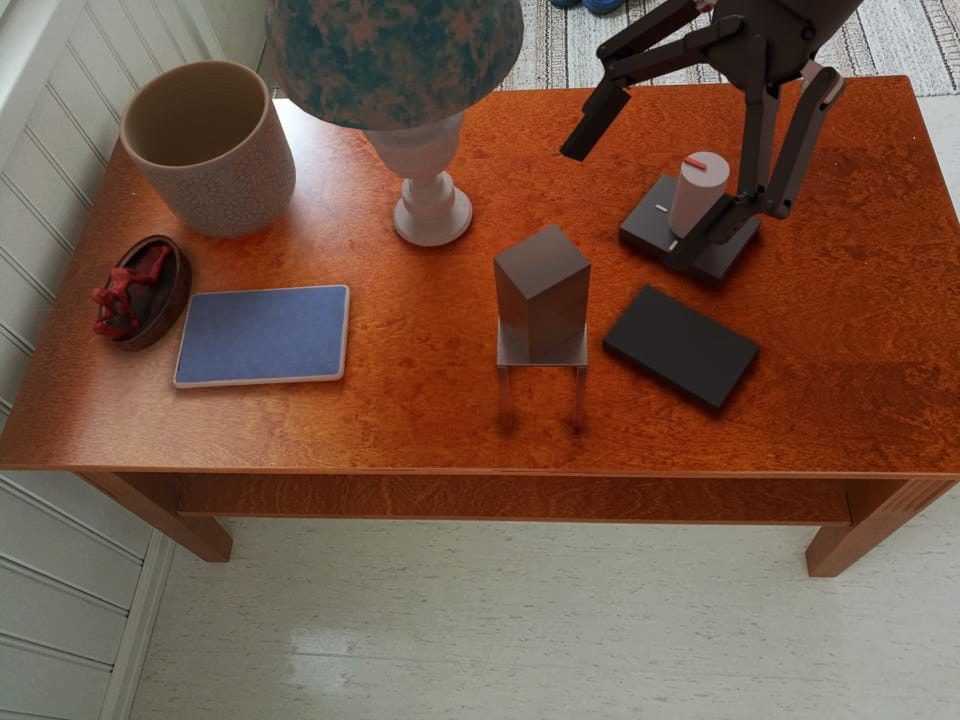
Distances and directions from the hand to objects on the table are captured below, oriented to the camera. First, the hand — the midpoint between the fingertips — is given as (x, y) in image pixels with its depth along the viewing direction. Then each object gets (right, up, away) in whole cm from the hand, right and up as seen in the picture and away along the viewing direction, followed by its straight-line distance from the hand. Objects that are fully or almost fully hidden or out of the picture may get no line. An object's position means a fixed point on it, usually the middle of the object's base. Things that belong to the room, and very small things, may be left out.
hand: (619, 209), depth 59 cm
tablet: (-36, -10, +27) cm, 46 cm away
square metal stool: (-4, -16, +20) cm, 26 cm away
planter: (-42, +8, +37) cm, 56 cm away
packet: (-5, -9, +8) cm, 13 cm away
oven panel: (+14, +3, +29) cm, 32 cm away
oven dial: (+13, +4, +27) cm, 30 cm away
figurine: (-51, -5, +30) cm, 59 cm away
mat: (+11, -11, +22) cm, 27 cm away
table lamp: (-17, +6, +33) cm, 38 cm away
